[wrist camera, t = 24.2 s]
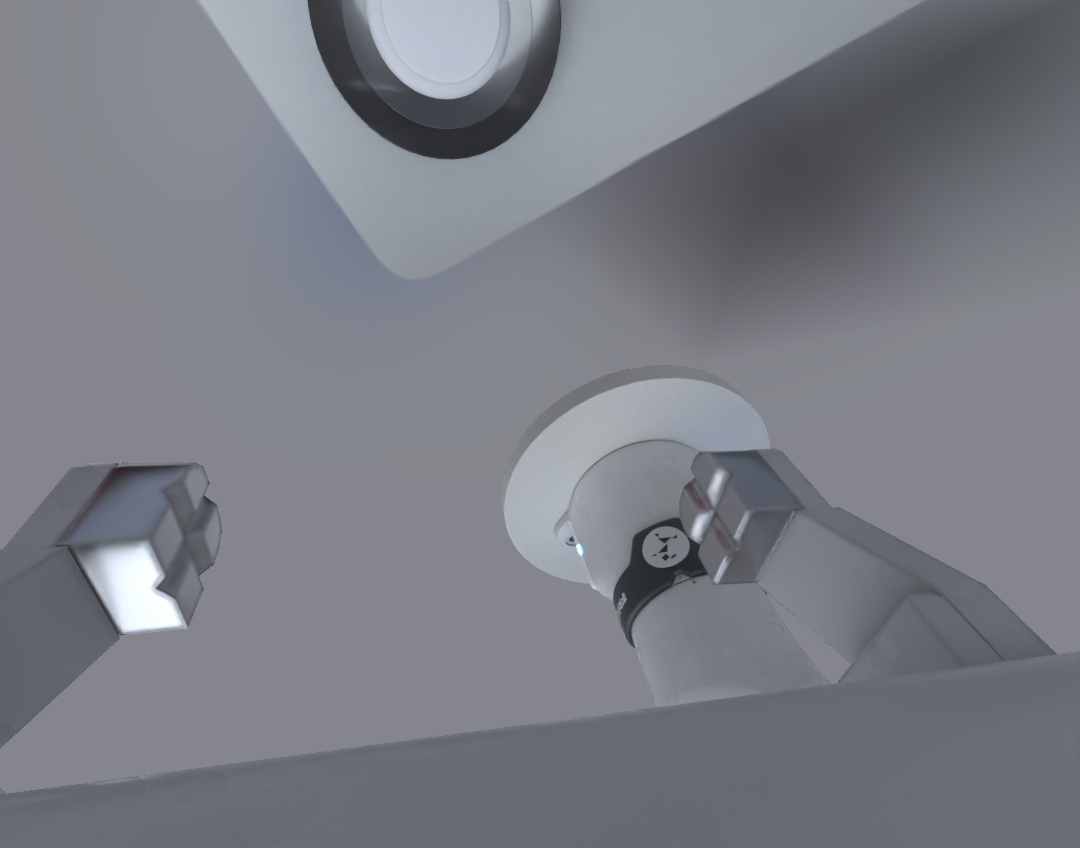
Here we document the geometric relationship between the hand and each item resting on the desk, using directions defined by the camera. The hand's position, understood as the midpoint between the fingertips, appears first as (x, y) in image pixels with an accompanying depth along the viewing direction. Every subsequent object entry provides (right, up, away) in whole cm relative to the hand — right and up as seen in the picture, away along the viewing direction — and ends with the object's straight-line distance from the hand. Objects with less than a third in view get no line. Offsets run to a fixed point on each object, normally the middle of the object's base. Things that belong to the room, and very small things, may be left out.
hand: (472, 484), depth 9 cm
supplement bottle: (-4, +20, +16) cm, 26 cm away
